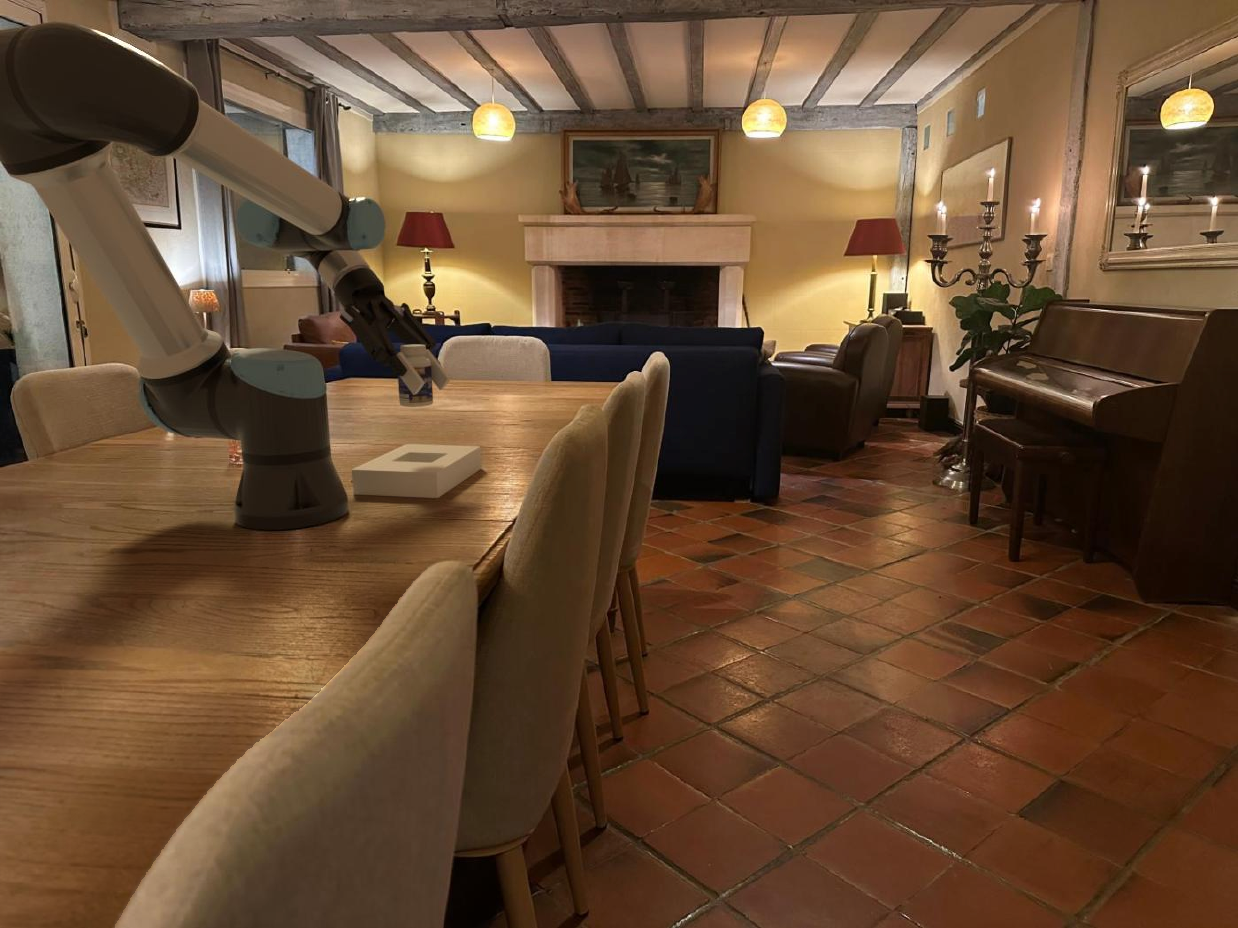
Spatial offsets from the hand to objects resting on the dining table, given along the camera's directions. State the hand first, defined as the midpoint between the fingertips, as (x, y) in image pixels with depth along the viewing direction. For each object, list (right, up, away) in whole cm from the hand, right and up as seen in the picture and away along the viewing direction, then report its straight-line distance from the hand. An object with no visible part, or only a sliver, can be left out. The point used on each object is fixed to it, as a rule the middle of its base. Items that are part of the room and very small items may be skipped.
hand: (432, 386), depth 131 cm
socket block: (-3, -15, +5) cm, 16 cm away
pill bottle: (-3, -3, +3) cm, 5 cm away
